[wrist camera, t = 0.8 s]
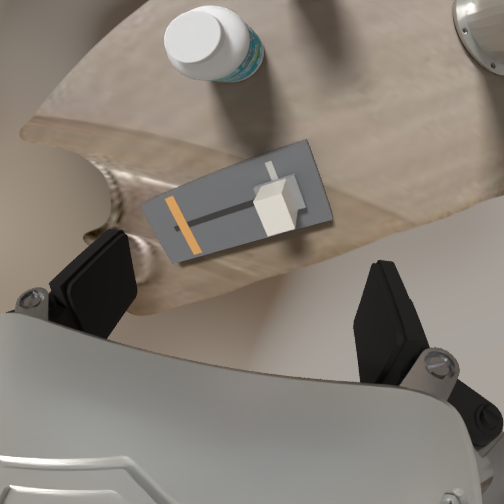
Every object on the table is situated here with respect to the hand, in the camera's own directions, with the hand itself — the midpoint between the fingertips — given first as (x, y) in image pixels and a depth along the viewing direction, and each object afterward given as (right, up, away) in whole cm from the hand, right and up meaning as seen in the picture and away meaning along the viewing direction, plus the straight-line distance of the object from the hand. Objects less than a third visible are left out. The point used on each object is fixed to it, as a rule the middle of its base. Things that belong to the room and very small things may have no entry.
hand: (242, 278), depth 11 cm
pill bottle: (-2, +24, +18) cm, 30 cm away
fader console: (-2, +7, +28) cm, 29 cm away
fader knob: (+4, +8, +24) cm, 25 cm away
